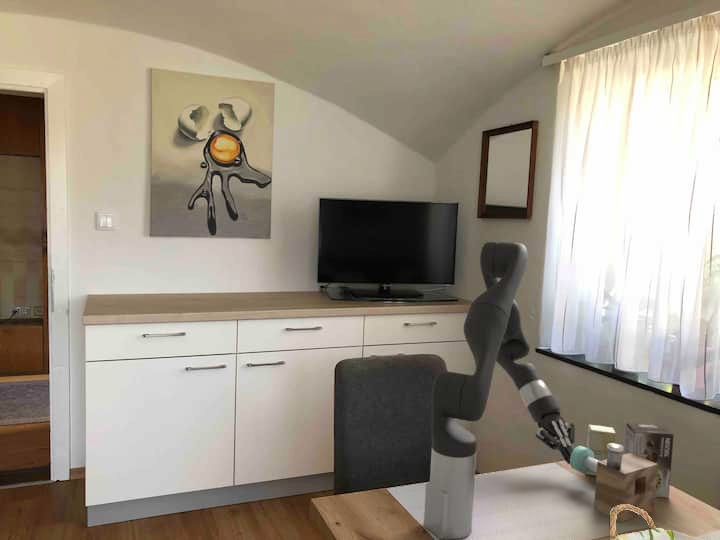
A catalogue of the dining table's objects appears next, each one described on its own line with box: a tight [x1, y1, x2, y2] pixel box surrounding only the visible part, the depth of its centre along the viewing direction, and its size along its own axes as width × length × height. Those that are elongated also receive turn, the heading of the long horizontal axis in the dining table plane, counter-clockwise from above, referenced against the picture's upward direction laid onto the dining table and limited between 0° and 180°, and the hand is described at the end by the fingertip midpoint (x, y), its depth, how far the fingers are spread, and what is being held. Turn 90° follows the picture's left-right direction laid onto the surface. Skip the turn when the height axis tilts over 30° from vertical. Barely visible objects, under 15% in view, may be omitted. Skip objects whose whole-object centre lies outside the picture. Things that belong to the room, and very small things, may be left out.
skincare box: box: [585, 424, 617, 476], centre depth 153 cm, size 6×4×12 cm
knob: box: [569, 445, 598, 474], centre depth 139 cm, size 6×14×6 cm, turn 30°
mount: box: [593, 453, 658, 522], centre depth 134 cm, size 12×7×11 cm, turn 120°
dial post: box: [607, 443, 625, 470], centre depth 131 cm, size 3×3×5 cm
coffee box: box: [624, 422, 675, 498], centre depth 143 cm, size 9×6×16 cm
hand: (573, 462), depth 147 cm, fingers closed
